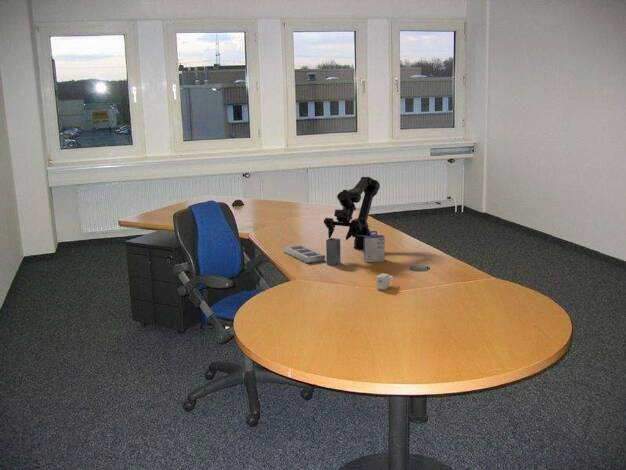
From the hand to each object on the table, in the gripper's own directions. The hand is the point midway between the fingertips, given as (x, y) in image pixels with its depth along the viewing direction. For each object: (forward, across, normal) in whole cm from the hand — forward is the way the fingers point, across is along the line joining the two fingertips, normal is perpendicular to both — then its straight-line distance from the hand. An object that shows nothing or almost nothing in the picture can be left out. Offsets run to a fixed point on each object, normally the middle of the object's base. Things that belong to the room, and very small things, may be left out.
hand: (337, 238), depth 295 cm
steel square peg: (+11, 0, +5) cm, 12 cm away
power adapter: (+29, +36, -12) cm, 48 cm away
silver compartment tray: (+7, -20, +9) cm, 23 cm away
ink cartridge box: (+2, +16, +14) cm, 21 cm away
